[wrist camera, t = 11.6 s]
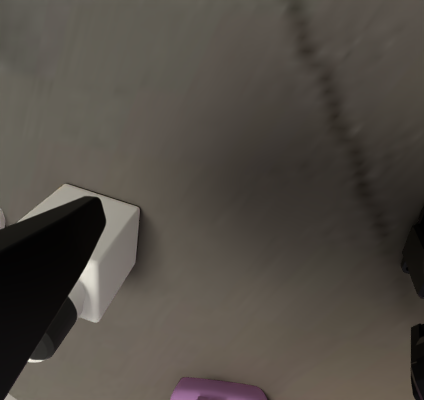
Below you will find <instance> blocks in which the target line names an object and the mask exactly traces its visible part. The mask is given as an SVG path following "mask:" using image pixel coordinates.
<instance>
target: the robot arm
mask: <svg viewBox="0 0 424 400" xmlns="http://www.w3.org/2000/svg"><path fill="white" fill-rule="evenodd" d="M105 226H106V216H105V213H104V209H103V205H102V202H101V200H100V198H98V197H94V196H84V197H81V198H78V199H76V200H73V201H71V202H68V203H66V204H63V205H61V206H58V207H56V208H53V209H51V210H48V211H46V212H43V213H40V214H38V215H35V216H33V217H30V218H28V219H25V220H23V221H20V222H18V223H15V224H13V225H10V226H7V227H5V228H2V229H0V400H4V399H5V397H6V396H7V394H8V393H9V391H10V389H11V388H12V386H13V384H14V383H15V381H16V380H17V378H18V376H19V375H20V373H21V372H22V370H23V368H24V367H25V365H26V363H27V362H28V360H29V359H30V357H31V355H32V354H33V352H34V350H35V349H36V347H37V346H38V344H39V342H40V341H41V339H42V338H43V336H44V334H45V333H46V331H47V329H48V328H49V326H50V325H51V323H52V321H53V320H54V318H55V316H56V315H57V313H58V312H59V310H60V308H61V307H62V305H63V304H64V302H65V300H66V299H67V297H68V295H69V294H70V292H71V291H72V289H73V287H74V286H75V284H76V283H77V281H78V279H79V278H80V276H81V274H82V273H83V271H84V269H85V267H86V266H87V264H88V262H89V260H90V258H91V256H92V253H93V251H94V249H95V247H96V245H97V243H98V241H99V239H100V237H101V235H102V233H103V231H104V228H105ZM402 254H403V260H402V262H401V268H402V270H403V272H405V273H408V274H410V276H411V278H412V281H413V284H414V287H415V289H416V292H417V294H418V296H419V297H420V298H422V299H424V207H423V210H422V212H421V215H420V217H419V220H418V222H417V223H416V224H415V225H413V226H412V228H411V231H410V234H409V236H408V239H407V241H406V244H405V246H404V249H403V251H402ZM411 384H412V389H413V396H414V398H415V399H416V400H424V324H417V325H415V326H413V327H411Z"/></svg>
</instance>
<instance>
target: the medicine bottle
mask: <svg viewBox="0 0 424 400" xmlns="http://www.w3.org/2000/svg"><path fill="white" fill-rule="evenodd" d="M84 196H94V197H98V198H100V200H101V202H102V205H103V209H104V213H105V216H106V226H105V228H104V231H103V233H102V235H101V237H100V239H99V241H98V243H97V245H96V247H95V249H94V251H93V253H92V256H91V258H90V260H89V262H88V264H87V266H86V267H85V269H84V271H83V273H82V274H81V276H80V278H79V279H78V281H77V283H76V284H75V286H74V287H73V289H72V291H71V292H70V294H69V295H68V297H67V299H66V300H65V302H64V304H63V305H62V307H61V308H60V310H59V312H58V313H57V315H56V316H55V318H54V320H53V321H52V323H51V325H50V326H49V328H48V329H47V331H46V333H45V334H44V336H43V338H42V339H41V341H40V342H39V344H38V346H37V347H36V349H35V350H34V352H33V354H32V355H31V357H30V359H29V360H28V362H41V361H43V360H46V359H48V358H50V357H52V356H53V354H54V353H55V351H56V350H57V348H58V347H59V345H60V344H61V342H62V341H63V340H64V338H65V337H66V335H67V334H68V332H69V331H70V329H71V328H72V327H73V325H74V324H75V322H76V321H77V319H78V318H79V317H80V318H83V319H86V320H89V321H92V322H98V321H100V319H101V318H102V316H103V314H104V313H105V311H106V309H107V308H108V306H109V305H110V303H111V301H112V300H113V298H114V297H115V295H116V293H117V292H118V290H119V289H120V287H121V285H122V284H123V282H124V280H125V279H126V277H127V276H128V274H129V272H130V271H131V269H132V268H133V266H134V264H135V262H136V251H137V239H138V227H139V216H140V209H139V207H137V206H134V205H131V204H128V203H125V202H122V201H119V200H116V199H112V198H109V197H106V196H103V195H100V194H97V193H94V192H91V191H88V190H85V189H81V188H78V187H75V186H72V185H69V184H64V185H62V186H61V187H60V188H58V189H57V190H56V191H55V192H53V193H52V194H51V195H50V196H48V197H47V198H46V199H45V200H43V201H42V202H41V203H40V204H39V205H37V206H36V207H35V208H34V209H32V210H31V211H30V212H29V213H27V214H26V215H25V216H24V217H22V218H21V219H20V220H19V221H17V222H16V223H18V222H20V221H23V220H25V219H28V218H30V217H33V216H35V215H38V214H40V213H43V212H46V211H48V210H51V209H53V208H56V207H58V206H61V205H63V204H66V203H68V202H71V201H73V200H76V199H78V198H81V197H84Z"/></svg>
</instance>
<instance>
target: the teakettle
mask: <svg viewBox="0 0 424 400" xmlns="http://www.w3.org/2000/svg"><path fill="white" fill-rule="evenodd" d="M170 400H267V397H266V396H265V394H264V392H263V391H262V390H261V389H260V388H259V387H256V386H252V385H247V384H240V383H233V382H226V381H219V380H210V379H200V378H189V377H183V378H182V379H181V380H180V381H179V383H178V384H177V386H176V387H175V389H174V391H173V393H172V396H171V399H170Z"/></svg>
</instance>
